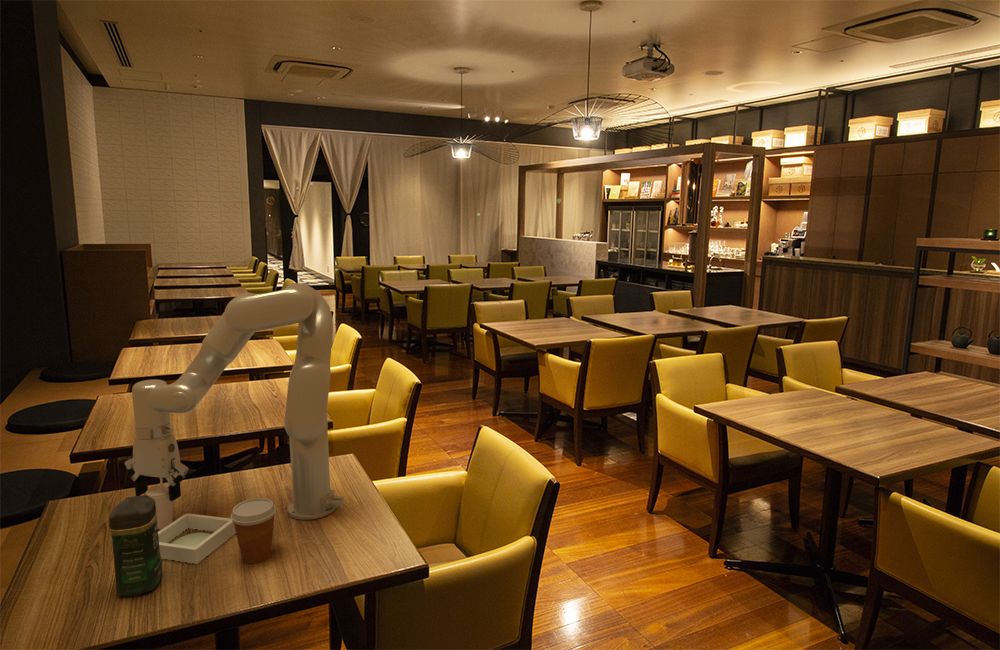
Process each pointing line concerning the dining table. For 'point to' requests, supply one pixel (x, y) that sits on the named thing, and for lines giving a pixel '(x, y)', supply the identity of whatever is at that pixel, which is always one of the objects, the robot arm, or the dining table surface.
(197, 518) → the white square frame
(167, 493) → the smoothie
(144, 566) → the coffee jar
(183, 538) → the pale green round spot
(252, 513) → the disposable coffee cup
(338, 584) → the dining table surface
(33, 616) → the dining table surface
